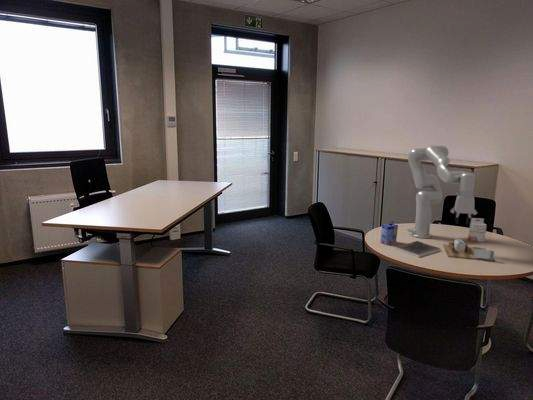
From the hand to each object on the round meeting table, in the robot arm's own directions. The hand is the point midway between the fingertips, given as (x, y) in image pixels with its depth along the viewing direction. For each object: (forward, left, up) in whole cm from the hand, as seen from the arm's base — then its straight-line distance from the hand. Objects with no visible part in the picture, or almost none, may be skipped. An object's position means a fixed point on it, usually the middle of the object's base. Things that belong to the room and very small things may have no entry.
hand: (462, 223), depth 234 cm
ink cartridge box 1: (-41, +4, -18) cm, 45 cm away
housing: (+4, -2, -17) cm, 18 cm away
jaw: (0, 0, -17) cm, 17 cm away
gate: (+10, -13, -17) cm, 23 cm away
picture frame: (-24, -5, -18) cm, 31 cm away
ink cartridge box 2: (+15, +27, -18) cm, 36 cm away
